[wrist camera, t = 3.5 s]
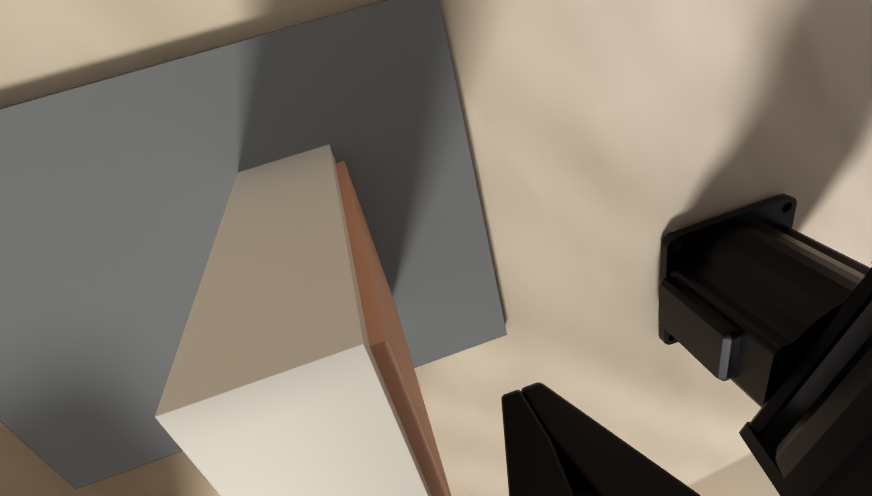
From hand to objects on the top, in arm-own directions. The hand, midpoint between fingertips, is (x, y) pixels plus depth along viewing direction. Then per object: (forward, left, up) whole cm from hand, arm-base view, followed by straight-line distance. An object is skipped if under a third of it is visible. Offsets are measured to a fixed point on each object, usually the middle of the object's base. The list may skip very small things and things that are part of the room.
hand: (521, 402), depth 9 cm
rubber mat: (+7, 0, -10) cm, 12 cm away
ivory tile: (+4, 0, -9) cm, 10 cm away
